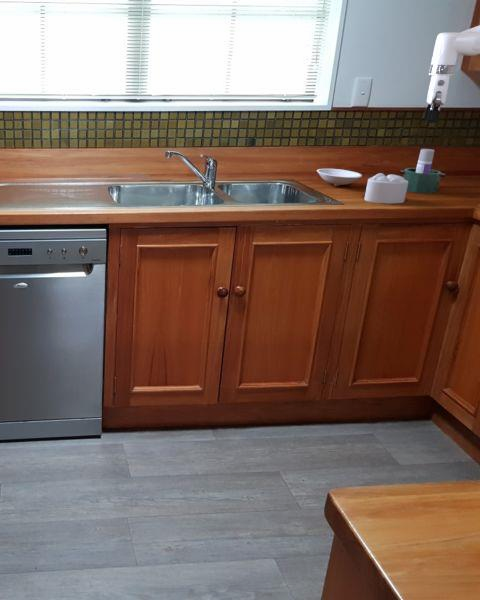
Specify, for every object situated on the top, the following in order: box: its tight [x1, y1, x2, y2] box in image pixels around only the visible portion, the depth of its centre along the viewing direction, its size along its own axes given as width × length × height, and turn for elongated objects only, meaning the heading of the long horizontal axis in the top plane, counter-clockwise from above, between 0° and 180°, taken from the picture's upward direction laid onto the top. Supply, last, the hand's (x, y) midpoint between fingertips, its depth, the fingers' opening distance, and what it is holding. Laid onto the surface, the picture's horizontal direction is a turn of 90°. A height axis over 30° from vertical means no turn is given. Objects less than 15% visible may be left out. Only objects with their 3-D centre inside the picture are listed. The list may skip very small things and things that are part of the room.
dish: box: [316, 168, 363, 187], centre depth 235 cm, size 18×14×5 cm
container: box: [415, 148, 435, 174], centre depth 227 cm, size 5×5×15 cm
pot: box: [399, 167, 446, 195], centre depth 229 cm, size 15×12×7 cm
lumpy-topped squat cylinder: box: [363, 172, 408, 204], centre depth 213 cm, size 10×13×9 cm
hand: (430, 121), depth 220 cm, fingers open, 9 cm apart
